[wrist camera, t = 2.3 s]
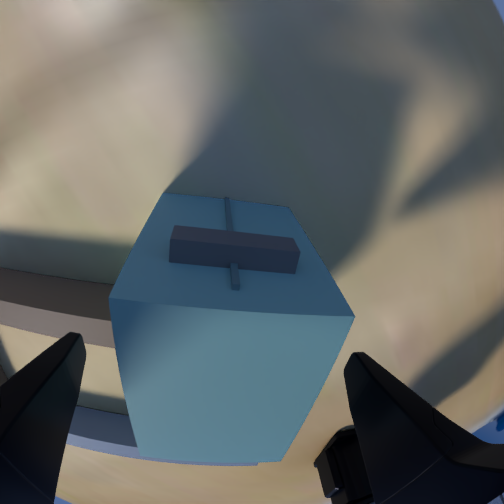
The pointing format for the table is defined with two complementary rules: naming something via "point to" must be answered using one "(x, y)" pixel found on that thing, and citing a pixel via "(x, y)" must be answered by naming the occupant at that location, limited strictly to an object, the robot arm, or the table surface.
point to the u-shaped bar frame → (93, 332)
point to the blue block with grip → (223, 330)
